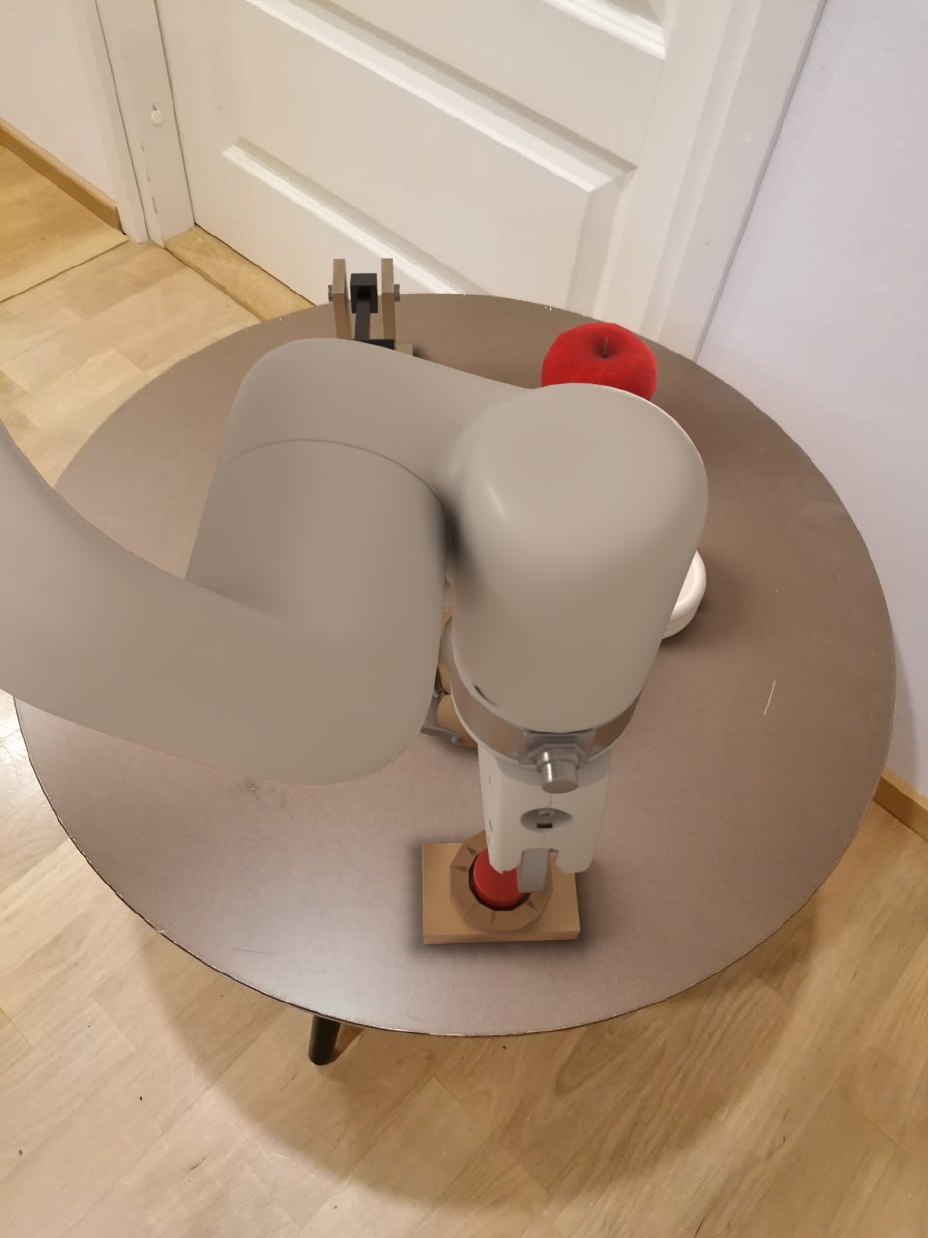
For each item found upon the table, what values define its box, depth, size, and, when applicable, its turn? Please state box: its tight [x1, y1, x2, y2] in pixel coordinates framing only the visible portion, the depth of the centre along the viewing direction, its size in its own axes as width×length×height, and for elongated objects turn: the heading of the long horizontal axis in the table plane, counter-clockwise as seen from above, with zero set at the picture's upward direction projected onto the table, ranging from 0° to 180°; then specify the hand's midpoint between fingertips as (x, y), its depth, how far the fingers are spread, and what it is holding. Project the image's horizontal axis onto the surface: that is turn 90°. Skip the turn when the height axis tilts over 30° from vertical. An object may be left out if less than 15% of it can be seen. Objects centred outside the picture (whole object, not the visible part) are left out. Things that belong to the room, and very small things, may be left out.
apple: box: [540, 321, 658, 402], centre depth 81 cm, size 10×10×11 cm
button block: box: [421, 829, 581, 945], centre depth 61 cm, size 10×6×4 cm, turn 92°
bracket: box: [327, 257, 414, 356], centre depth 83 cm, size 10×8×13 cm
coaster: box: [662, 549, 707, 640], centre depth 75 cm, size 10×10×4 cm
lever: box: [345, 272, 395, 350], centre depth 75 cm, size 13×5×2 cm, turn 3°
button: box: [473, 847, 526, 908], centre depth 59 cm, size 4×4×2 cm
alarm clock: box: [419, 604, 478, 749], centre depth 70 cm, size 11×5×15 cm
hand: (514, 830), depth 52 cm, fingers closed
